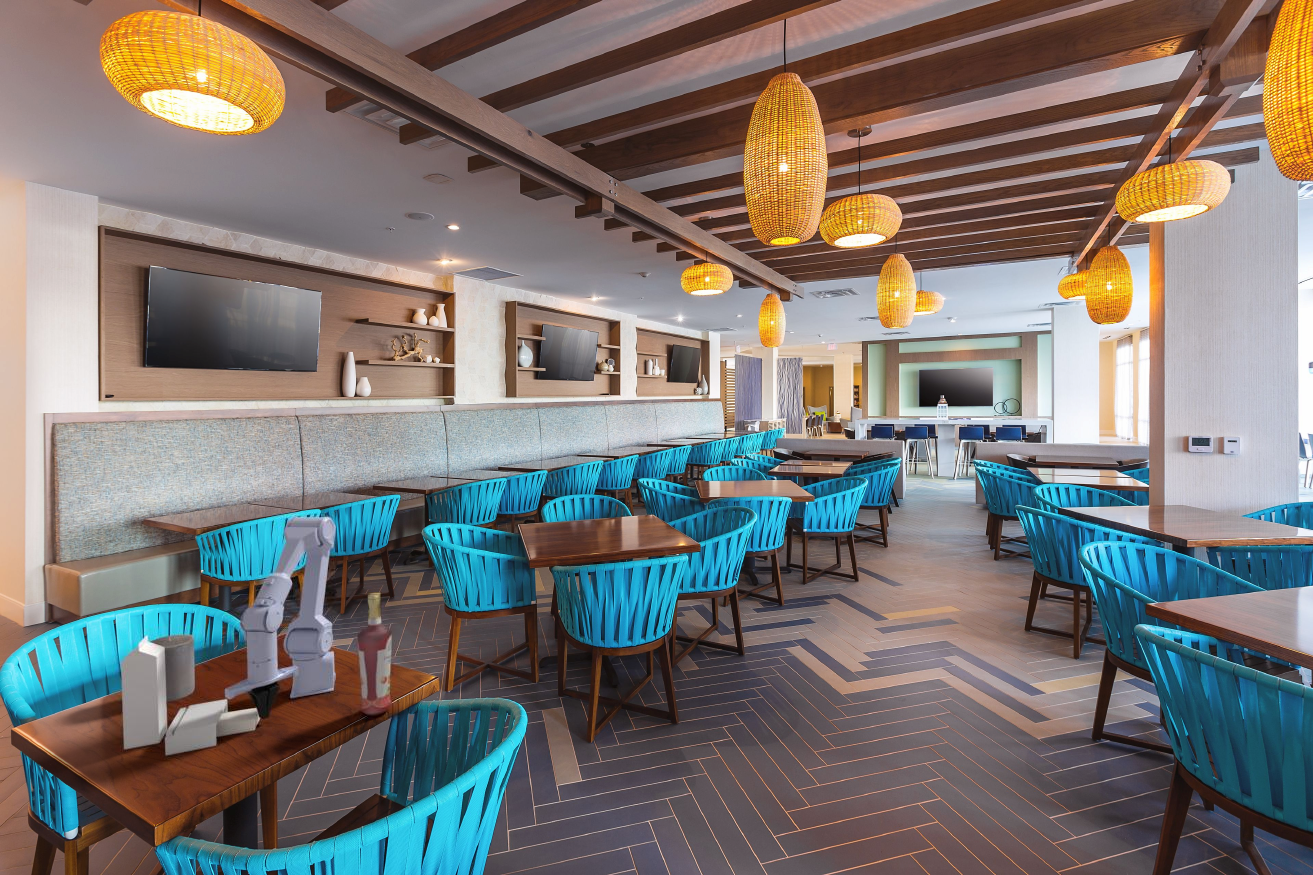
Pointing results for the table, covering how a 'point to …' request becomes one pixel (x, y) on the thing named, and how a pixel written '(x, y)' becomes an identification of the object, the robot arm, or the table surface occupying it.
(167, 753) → the slotted white box
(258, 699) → the robot arm
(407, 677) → the table surface
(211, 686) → the table surface
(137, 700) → the milk
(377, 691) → the liquor
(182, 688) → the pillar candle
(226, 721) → the cream rectangular beam
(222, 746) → the table surface
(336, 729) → the table surface
